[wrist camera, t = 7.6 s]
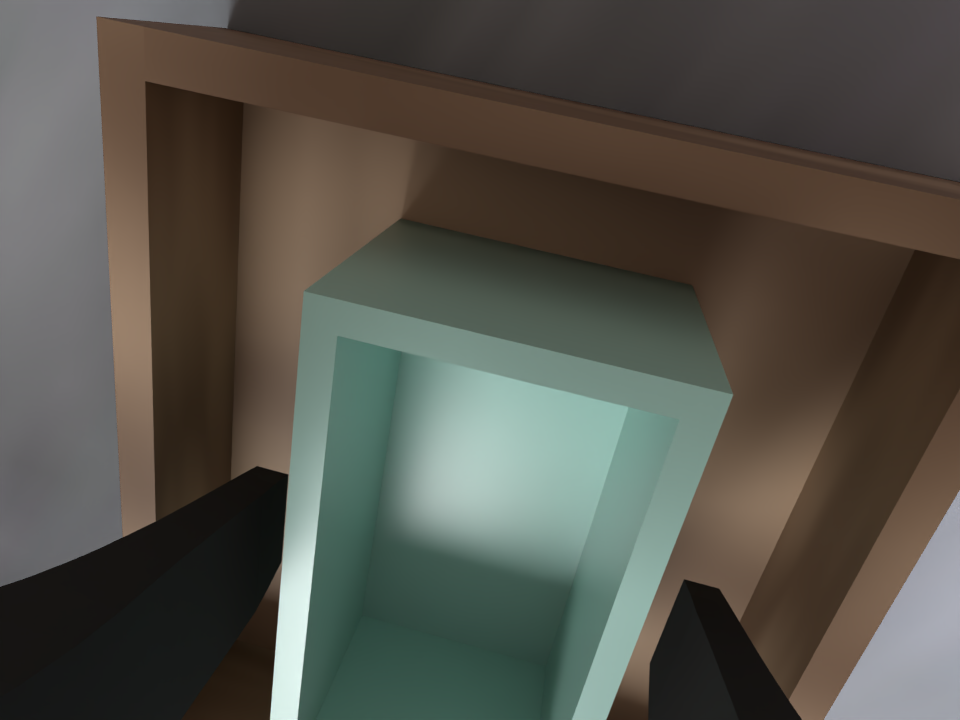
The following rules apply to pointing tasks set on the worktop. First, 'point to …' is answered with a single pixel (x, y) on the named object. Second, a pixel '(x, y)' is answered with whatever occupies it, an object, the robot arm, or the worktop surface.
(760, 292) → the big crate
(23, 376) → the worktop surface
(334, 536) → the small crate
